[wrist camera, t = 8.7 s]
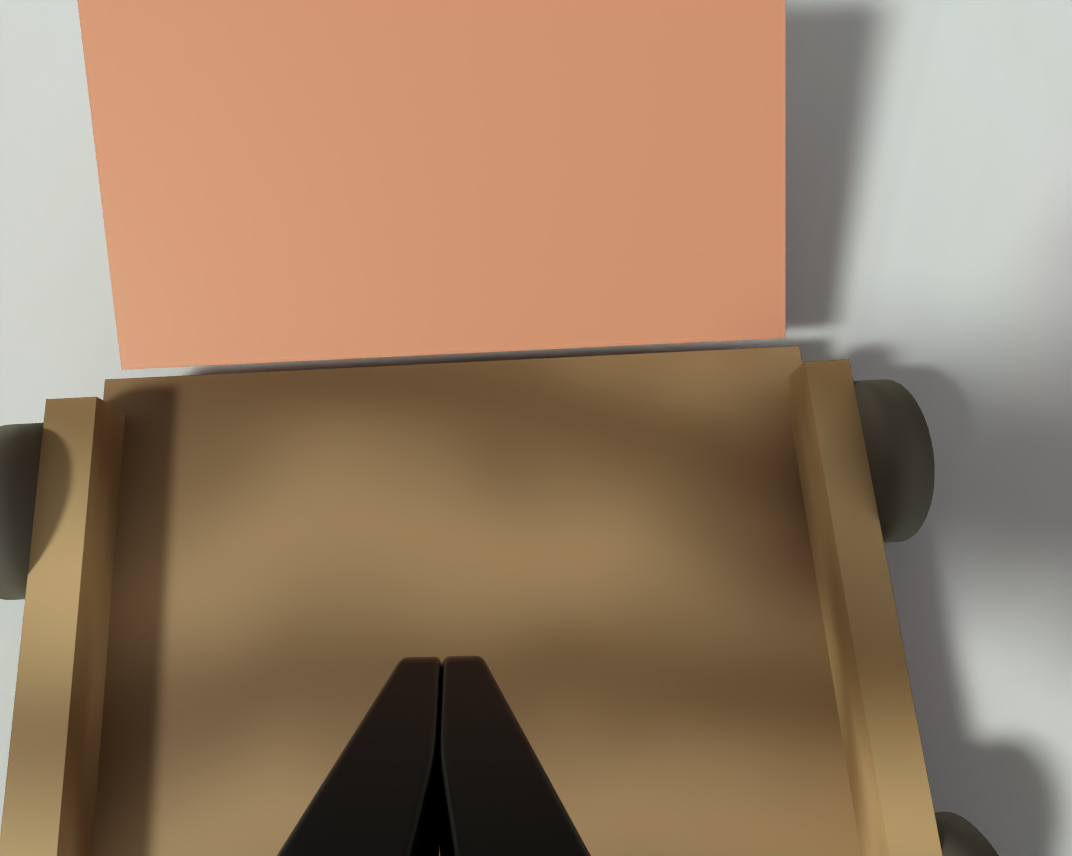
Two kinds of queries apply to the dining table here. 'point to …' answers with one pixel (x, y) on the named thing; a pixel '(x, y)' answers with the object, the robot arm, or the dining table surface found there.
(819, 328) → the dining table surface
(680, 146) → the panel
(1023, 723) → the dining table surface
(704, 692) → the cart bed
